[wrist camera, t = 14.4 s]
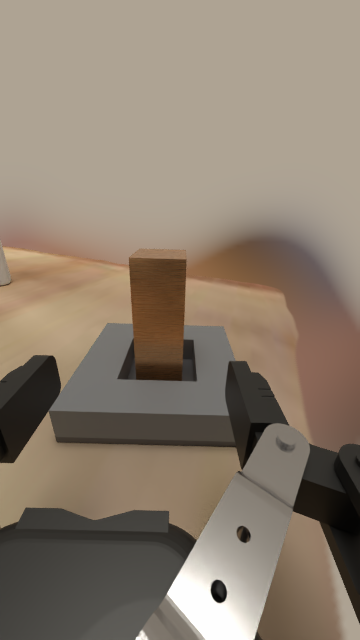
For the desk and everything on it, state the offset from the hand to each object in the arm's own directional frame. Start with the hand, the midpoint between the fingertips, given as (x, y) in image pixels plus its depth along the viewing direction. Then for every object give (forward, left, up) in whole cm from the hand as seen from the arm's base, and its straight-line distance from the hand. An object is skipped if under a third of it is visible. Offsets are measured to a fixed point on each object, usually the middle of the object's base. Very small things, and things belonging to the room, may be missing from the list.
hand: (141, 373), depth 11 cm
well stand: (0, +10, -9) cm, 13 cm away
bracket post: (0, +10, -8) cm, 13 cm away
